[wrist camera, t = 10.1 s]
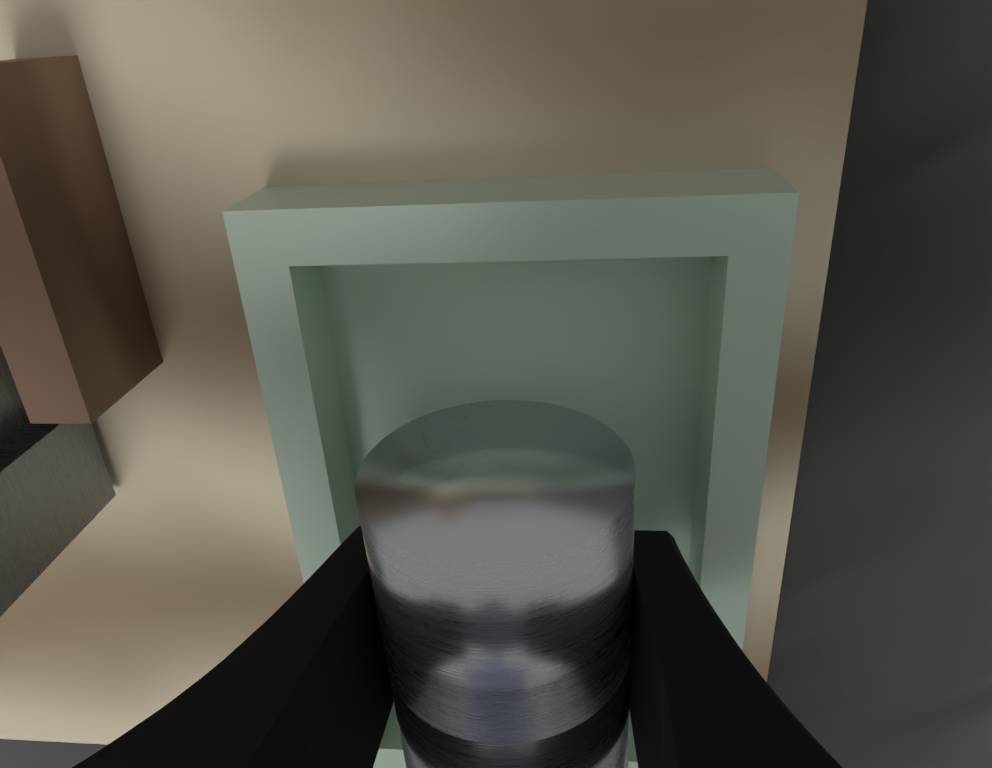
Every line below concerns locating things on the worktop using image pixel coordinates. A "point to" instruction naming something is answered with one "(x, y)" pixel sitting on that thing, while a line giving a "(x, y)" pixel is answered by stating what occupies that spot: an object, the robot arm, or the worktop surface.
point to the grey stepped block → (42, 489)
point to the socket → (64, 252)
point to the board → (363, 159)
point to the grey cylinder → (504, 584)
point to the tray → (527, 336)
